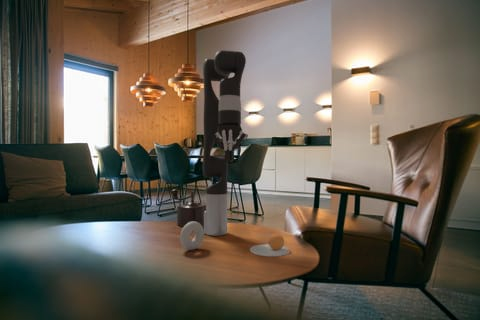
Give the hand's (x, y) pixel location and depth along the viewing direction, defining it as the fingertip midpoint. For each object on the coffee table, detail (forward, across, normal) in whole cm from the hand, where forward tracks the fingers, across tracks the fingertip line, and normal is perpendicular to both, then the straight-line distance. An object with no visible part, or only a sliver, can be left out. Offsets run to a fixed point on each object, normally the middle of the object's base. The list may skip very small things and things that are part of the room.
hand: (229, 161), depth 104 cm
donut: (+31, -14, -1) cm, 34 cm away
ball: (+28, +13, +12) cm, 33 cm away
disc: (+31, +11, +10) cm, 34 cm away
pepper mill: (+31, -38, +32) cm, 59 cm away
